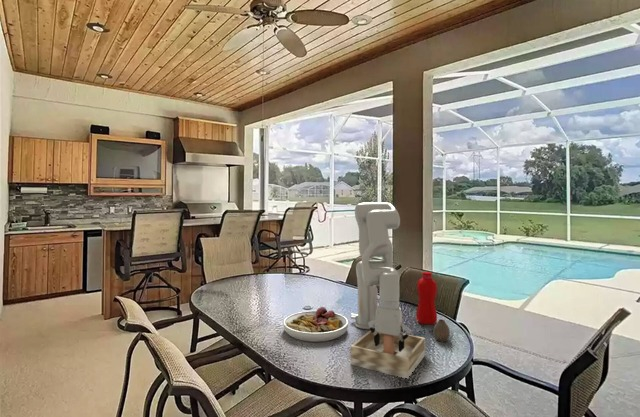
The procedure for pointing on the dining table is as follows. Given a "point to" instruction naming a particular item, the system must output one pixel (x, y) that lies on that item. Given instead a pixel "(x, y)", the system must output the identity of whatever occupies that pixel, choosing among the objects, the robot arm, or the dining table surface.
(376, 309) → the robot arm
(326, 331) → the bowl
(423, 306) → the water bottle
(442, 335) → the vase
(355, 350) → the insert box
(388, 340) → the peg
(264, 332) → the dining table surface
